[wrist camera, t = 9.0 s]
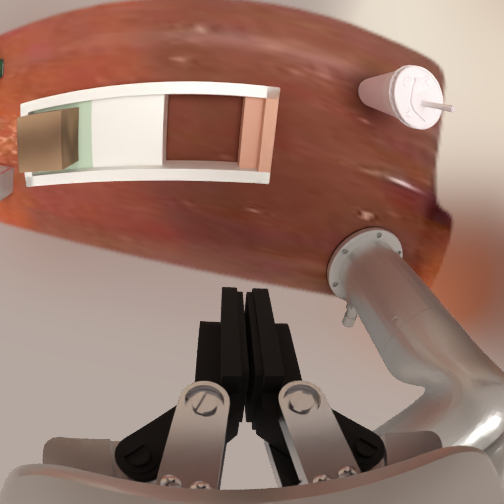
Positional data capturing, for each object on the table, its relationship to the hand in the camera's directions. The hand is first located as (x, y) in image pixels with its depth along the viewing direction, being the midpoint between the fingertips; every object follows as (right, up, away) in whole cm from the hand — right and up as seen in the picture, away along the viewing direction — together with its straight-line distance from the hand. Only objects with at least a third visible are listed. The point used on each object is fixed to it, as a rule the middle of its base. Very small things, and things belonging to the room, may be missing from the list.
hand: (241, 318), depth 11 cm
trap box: (-12, +16, +17) cm, 26 cm away
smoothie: (+15, +22, +17) cm, 31 cm away
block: (-21, +15, +13) cm, 29 cm away
